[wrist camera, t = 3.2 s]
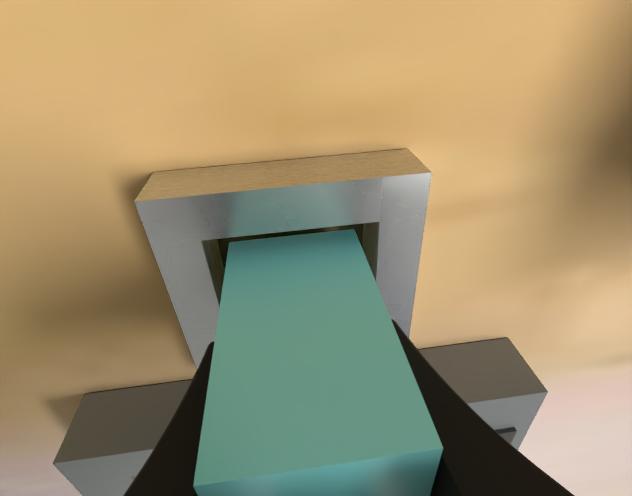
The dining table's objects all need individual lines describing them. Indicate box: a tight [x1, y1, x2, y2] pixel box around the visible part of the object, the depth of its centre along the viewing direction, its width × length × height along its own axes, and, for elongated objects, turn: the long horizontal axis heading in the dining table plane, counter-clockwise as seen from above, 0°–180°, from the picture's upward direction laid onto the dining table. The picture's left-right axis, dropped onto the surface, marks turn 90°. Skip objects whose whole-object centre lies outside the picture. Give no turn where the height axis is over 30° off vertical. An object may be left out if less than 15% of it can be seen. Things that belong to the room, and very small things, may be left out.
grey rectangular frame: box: [134, 149, 432, 369], centre depth 13 cm, size 9×8×2 cm
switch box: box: [53, 338, 548, 496], centre depth 18 cm, size 10×20×3 cm, turn 93°
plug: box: [193, 229, 443, 496], centre depth 9 cm, size 5×4×8 cm
